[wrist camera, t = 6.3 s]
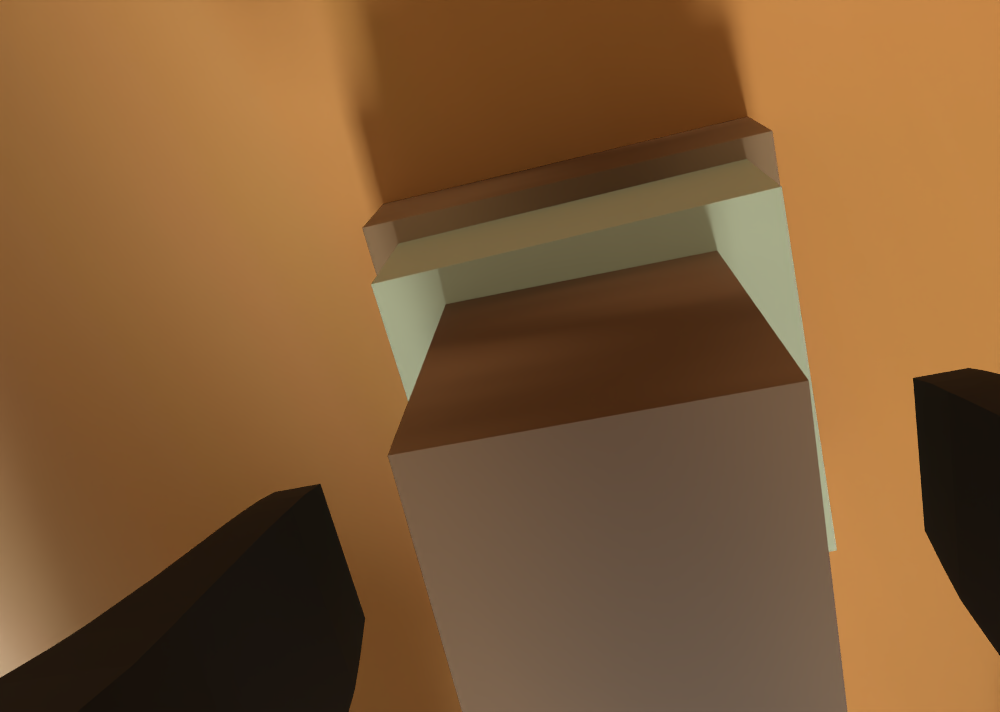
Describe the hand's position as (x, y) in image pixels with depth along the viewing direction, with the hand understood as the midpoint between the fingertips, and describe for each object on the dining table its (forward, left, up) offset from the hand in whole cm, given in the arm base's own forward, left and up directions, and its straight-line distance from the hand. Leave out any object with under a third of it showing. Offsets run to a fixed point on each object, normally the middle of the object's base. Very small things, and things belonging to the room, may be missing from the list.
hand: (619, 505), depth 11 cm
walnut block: (0, 0, -3) cm, 3 cm away
